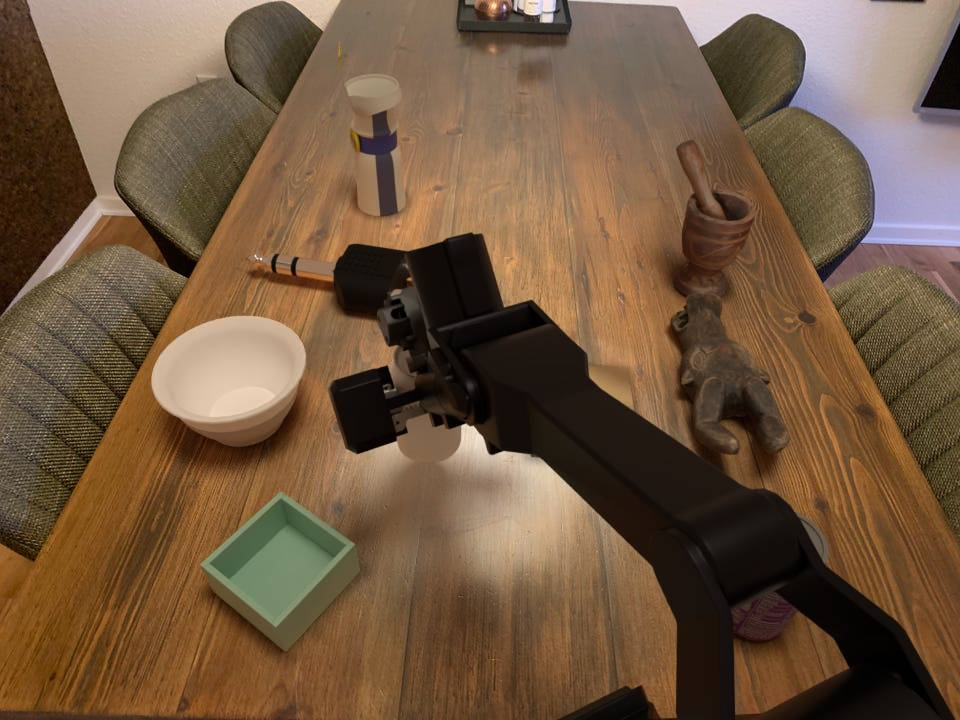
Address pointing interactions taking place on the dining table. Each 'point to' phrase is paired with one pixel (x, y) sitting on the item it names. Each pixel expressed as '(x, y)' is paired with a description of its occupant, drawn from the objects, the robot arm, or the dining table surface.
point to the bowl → (231, 378)
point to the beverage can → (774, 600)
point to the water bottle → (376, 143)
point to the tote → (282, 569)
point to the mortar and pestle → (709, 228)
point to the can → (421, 422)
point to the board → (613, 383)
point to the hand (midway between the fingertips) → (422, 386)
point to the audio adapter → (348, 273)
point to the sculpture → (723, 379)
